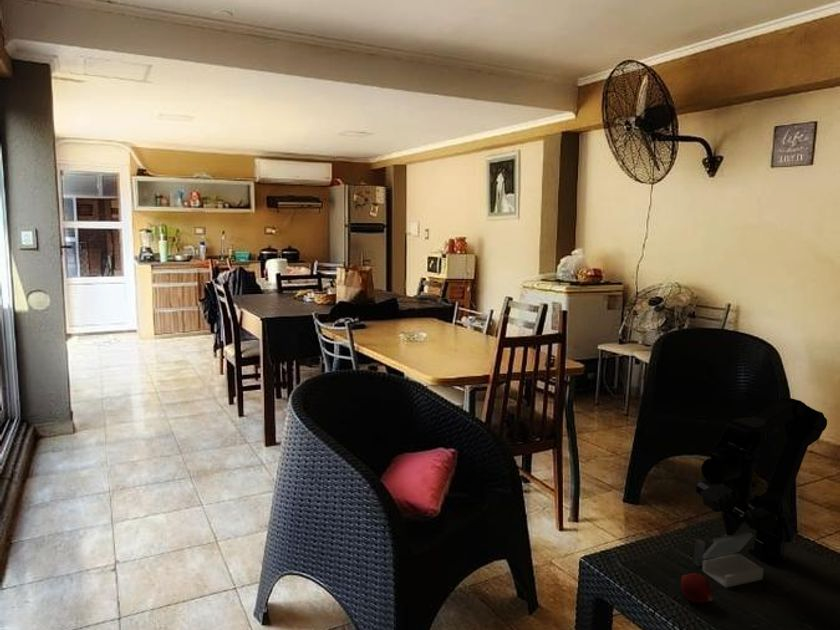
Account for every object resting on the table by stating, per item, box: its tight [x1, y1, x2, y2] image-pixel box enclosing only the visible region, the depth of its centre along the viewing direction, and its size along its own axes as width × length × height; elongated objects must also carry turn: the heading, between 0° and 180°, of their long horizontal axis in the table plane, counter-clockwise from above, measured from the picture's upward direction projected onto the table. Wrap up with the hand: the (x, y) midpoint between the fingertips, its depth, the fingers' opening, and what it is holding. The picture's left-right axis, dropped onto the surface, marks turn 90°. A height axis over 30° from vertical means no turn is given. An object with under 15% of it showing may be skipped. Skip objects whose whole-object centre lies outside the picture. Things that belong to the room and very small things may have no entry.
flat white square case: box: [692, 533, 765, 588], centre depth 144 cm, size 11×10×6 cm
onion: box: [680, 572, 714, 604], centre depth 133 cm, size 6×6×8 cm
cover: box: [702, 531, 754, 560], centre depth 145 cm, size 11×7×1 cm
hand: (729, 536), depth 144 cm, fingers closed, pressing on cover
